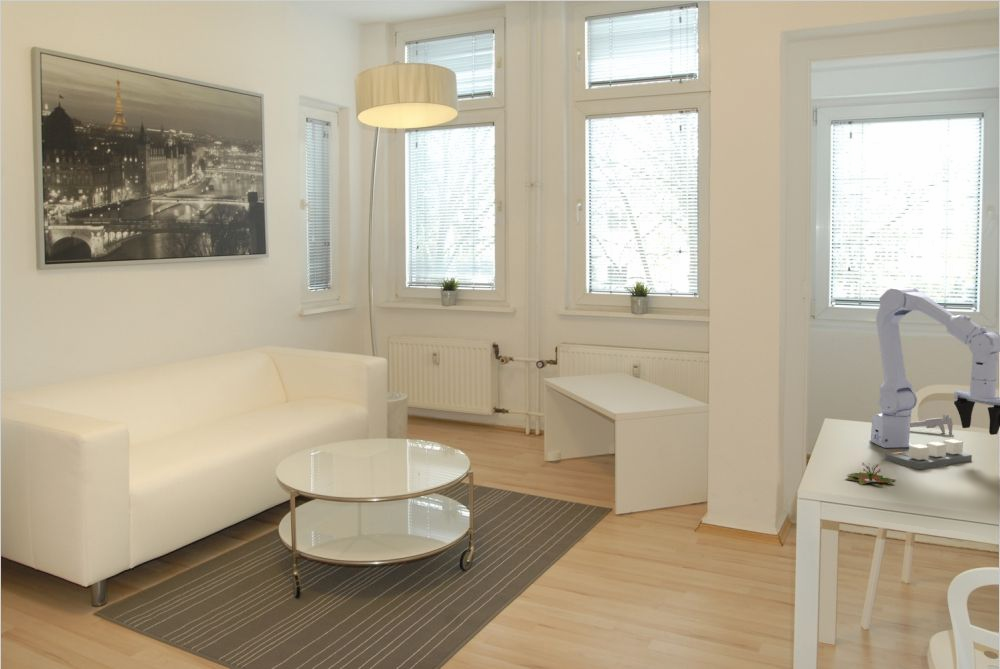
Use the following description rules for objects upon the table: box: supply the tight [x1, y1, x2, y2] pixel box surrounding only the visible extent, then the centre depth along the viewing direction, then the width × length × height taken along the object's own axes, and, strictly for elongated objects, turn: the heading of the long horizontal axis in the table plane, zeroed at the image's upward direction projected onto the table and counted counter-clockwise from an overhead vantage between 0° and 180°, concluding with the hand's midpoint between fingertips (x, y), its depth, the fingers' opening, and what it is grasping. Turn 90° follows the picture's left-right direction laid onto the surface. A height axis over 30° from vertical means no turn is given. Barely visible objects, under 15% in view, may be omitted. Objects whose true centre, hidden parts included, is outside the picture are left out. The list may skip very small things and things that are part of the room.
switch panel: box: [885, 450, 973, 470], centre depth 219 cm, size 20×10×2 cm, turn 115°
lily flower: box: [846, 462, 896, 489], centre depth 201 cm, size 12×12×5 cm
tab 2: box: [942, 438, 964, 454], centre depth 220 cm, size 4×3×3 cm
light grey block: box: [908, 443, 929, 460], centre depth 214 cm, size 4×3×3 cm
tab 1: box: [926, 441, 947, 457], centre depth 217 cm, size 4×3×3 cm
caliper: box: [910, 413, 954, 435], centre depth 251 cm, size 20×1×6 cm, turn 73°
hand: (979, 430), depth 215 cm, fingers open, 7 cm apart
